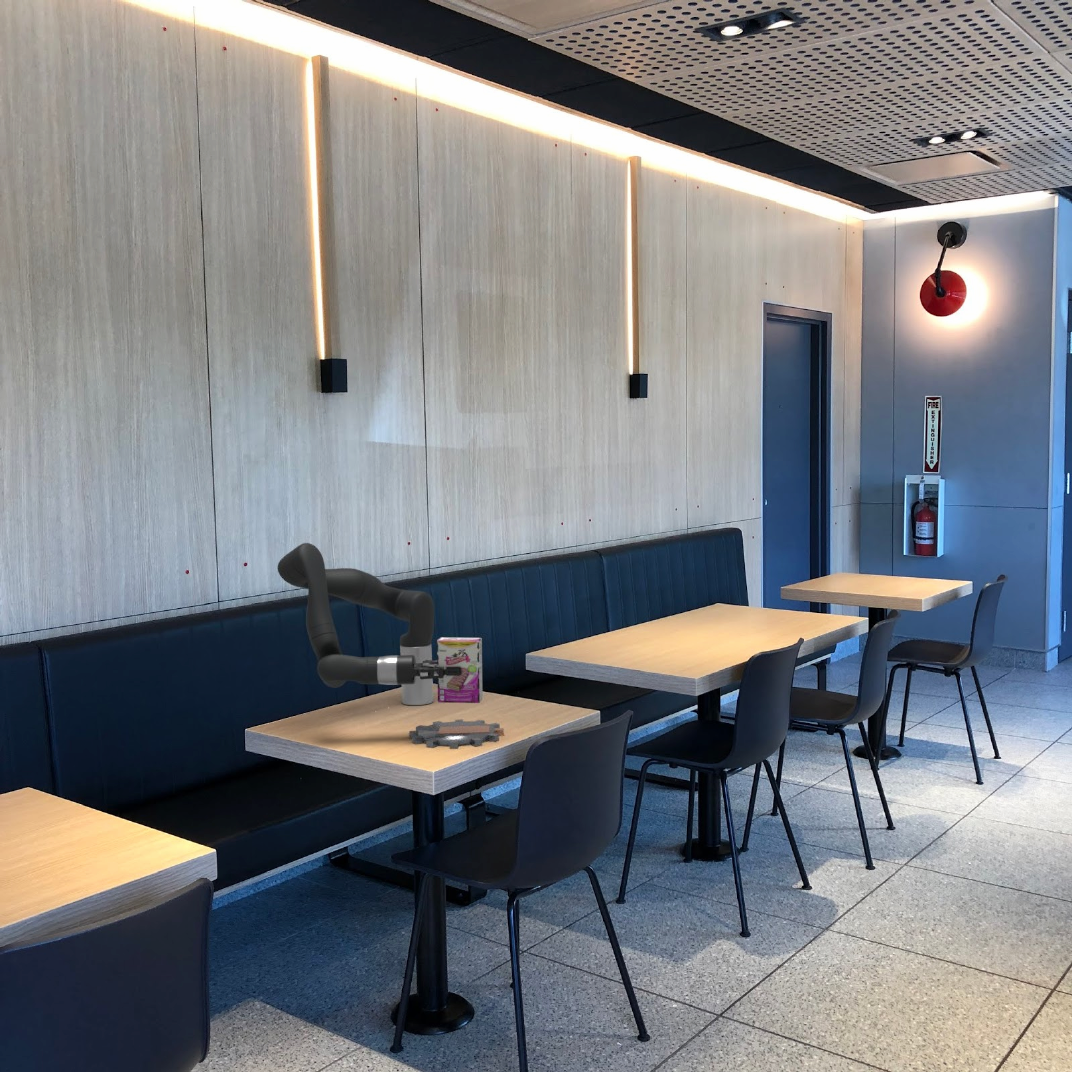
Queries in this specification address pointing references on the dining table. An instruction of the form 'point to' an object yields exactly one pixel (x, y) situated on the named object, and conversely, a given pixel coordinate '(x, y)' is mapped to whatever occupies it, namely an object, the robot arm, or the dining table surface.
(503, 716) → the dining table surface
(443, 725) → the sprocket plate
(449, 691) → the candy bar box
